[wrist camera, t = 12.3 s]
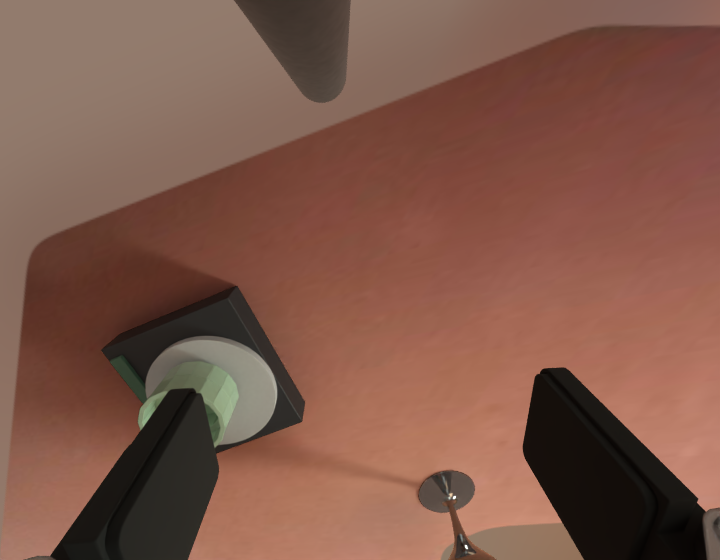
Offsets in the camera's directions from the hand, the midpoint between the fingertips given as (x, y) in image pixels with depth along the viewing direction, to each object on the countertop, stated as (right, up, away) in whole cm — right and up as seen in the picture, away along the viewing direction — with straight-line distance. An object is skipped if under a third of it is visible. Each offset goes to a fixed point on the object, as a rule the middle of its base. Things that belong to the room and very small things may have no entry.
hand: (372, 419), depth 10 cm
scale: (-15, -5, +27) cm, 31 cm away
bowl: (-15, -6, +23) cm, 28 cm away
